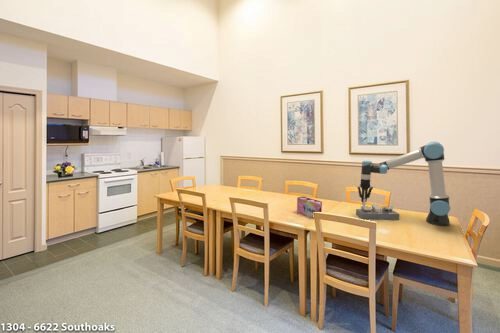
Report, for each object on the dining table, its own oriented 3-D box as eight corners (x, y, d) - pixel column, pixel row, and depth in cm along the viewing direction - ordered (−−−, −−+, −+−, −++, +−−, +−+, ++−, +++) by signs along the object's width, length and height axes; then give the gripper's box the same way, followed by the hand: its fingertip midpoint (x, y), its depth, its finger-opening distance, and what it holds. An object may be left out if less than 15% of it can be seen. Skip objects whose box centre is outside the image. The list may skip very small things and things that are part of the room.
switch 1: (366, 208, 225) (366, 206, 225) (371, 209, 216) (371, 207, 216) (360, 208, 225) (360, 205, 225) (365, 209, 216) (365, 207, 216)
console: (390, 214, 226) (391, 205, 225) (399, 219, 213) (399, 210, 212) (355, 214, 227) (356, 205, 226) (362, 219, 213) (362, 210, 212)
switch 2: (377, 205, 224) (377, 203, 223) (381, 212, 216) (382, 210, 215) (371, 205, 225) (371, 203, 224) (375, 212, 217) (376, 210, 216)
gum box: (323, 217, 219) (323, 202, 217) (316, 219, 214) (317, 203, 213) (302, 210, 239) (303, 196, 237) (296, 212, 234) (296, 197, 233)
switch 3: (387, 209, 224) (387, 207, 224) (393, 209, 215) (392, 206, 216) (382, 209, 224) (381, 207, 224) (387, 208, 215) (386, 206, 216)
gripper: (371, 178, 225) (369, 204, 228) (356, 177, 225) (354, 204, 229) (375, 179, 217) (373, 207, 221) (359, 179, 218) (357, 206, 221)
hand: (363, 205), depth 225 cm, fingers closed
